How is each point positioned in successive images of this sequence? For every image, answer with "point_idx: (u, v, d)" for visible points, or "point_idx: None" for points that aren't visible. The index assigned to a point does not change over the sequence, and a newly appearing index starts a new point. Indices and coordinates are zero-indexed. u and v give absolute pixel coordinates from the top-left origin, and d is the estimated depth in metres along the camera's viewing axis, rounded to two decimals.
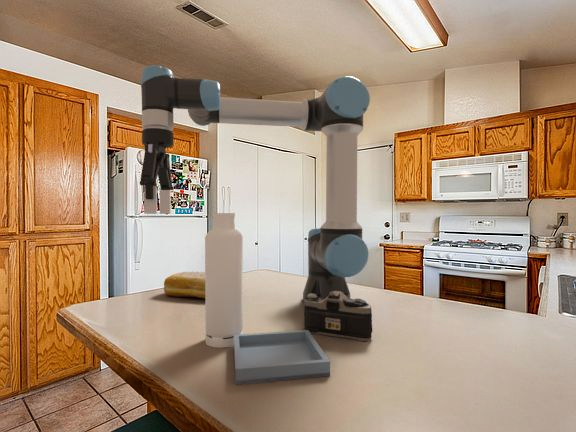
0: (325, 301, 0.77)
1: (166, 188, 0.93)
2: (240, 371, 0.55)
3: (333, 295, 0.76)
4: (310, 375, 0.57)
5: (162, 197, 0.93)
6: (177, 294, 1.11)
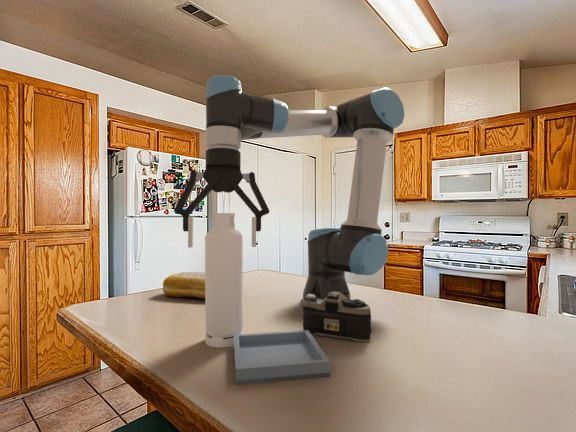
0: (324, 302, 0.76)
1: (255, 215, 0.75)
2: (240, 371, 0.55)
3: (332, 296, 0.76)
4: (310, 375, 0.57)
5: None
6: (177, 294, 1.11)
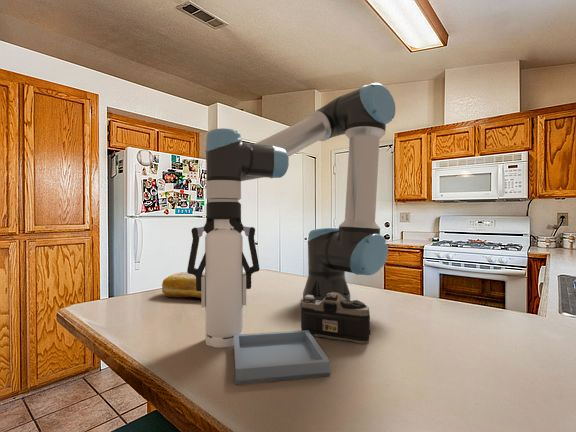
0: (322, 303, 0.75)
1: (245, 271, 0.75)
2: (240, 371, 0.55)
3: (330, 297, 0.75)
4: (310, 375, 0.57)
5: None
6: (177, 295, 1.10)
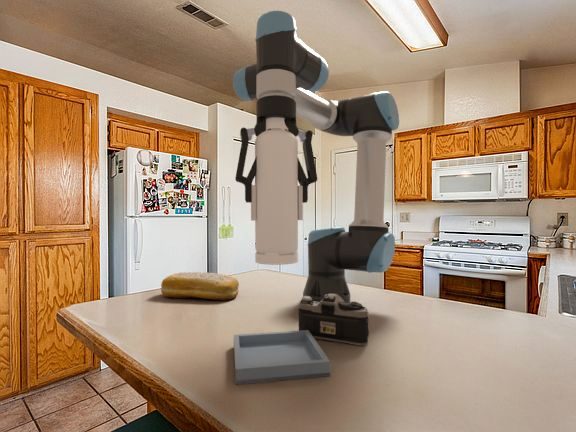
0: (320, 304, 0.74)
1: (301, 182, 0.65)
2: (240, 371, 0.55)
3: (328, 298, 0.74)
4: (310, 375, 0.57)
5: None
6: (177, 295, 1.10)
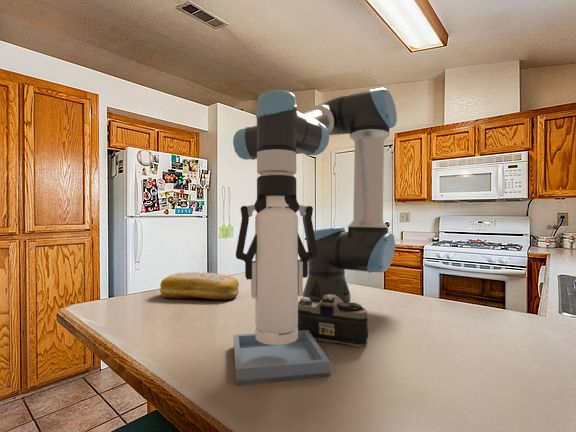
0: (319, 305, 0.74)
1: (301, 257, 0.65)
2: (240, 371, 0.55)
3: (327, 299, 0.73)
4: (310, 375, 0.57)
5: None
6: (177, 295, 1.09)
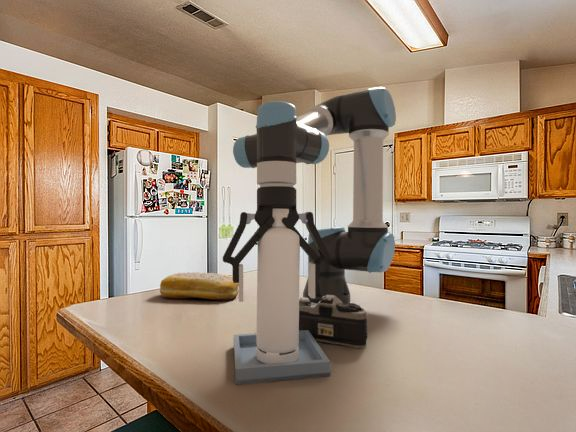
0: (317, 306, 0.73)
1: (313, 260, 0.65)
2: (240, 371, 0.55)
3: (326, 299, 0.73)
4: (310, 375, 0.57)
5: (309, 273, 0.66)
6: (177, 296, 1.09)
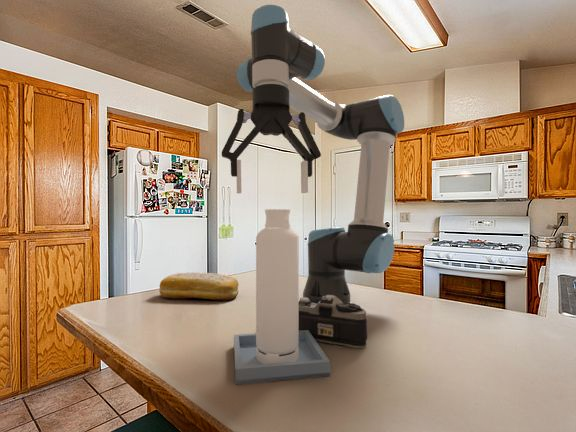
0: (317, 306, 0.73)
1: (306, 159, 0.70)
2: (240, 371, 0.55)
3: (326, 299, 0.73)
4: (310, 375, 0.57)
5: (301, 171, 0.71)
6: (176, 296, 1.09)
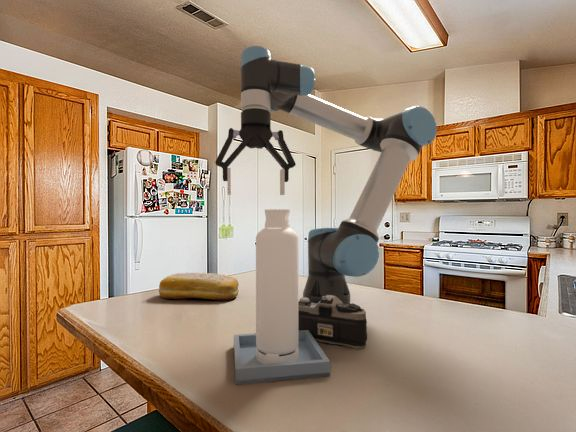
0: (317, 306, 0.73)
1: (283, 167, 0.87)
2: (240, 371, 0.55)
3: (326, 299, 0.73)
4: (310, 375, 0.57)
5: (280, 177, 0.88)
6: (177, 296, 1.08)
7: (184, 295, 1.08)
